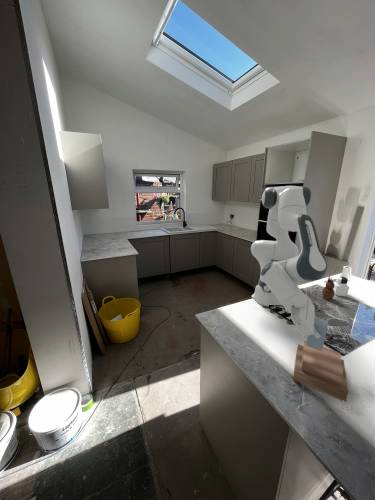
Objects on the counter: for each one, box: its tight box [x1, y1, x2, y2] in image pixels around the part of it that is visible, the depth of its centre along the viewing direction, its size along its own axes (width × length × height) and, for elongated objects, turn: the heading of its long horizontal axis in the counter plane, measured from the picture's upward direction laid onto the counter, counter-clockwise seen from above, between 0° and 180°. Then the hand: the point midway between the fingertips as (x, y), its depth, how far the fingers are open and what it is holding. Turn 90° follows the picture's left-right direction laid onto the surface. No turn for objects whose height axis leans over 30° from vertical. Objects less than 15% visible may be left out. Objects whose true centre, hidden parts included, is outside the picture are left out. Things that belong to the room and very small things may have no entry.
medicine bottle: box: [333, 275, 350, 297], centre depth 138 cm, size 7×7×12 cm
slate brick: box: [305, 316, 329, 351], centre depth 76 cm, size 5×5×10 cm
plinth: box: [292, 340, 349, 402], centre depth 78 cm, size 16×16×8 cm
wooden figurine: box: [321, 276, 335, 301], centre depth 132 cm, size 7×6×15 cm
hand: (319, 331), depth 75 cm, fingers closed on slate brick, 5 cm apart
